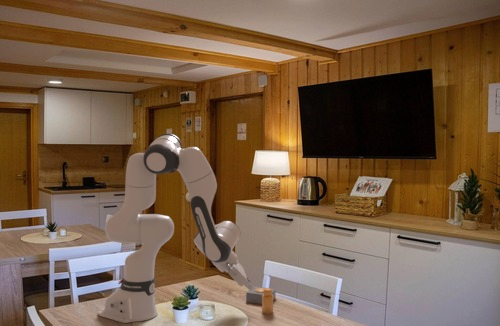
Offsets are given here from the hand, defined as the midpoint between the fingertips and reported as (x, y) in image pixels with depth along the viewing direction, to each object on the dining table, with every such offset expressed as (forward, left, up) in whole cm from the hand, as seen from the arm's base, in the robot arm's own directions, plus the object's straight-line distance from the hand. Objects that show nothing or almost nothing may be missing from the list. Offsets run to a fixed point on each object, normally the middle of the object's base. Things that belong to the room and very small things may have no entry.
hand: (250, 285), depth 176 cm
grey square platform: (-1, +17, -11) cm, 21 cm away
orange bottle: (+6, +4, -11) cm, 13 cm away
